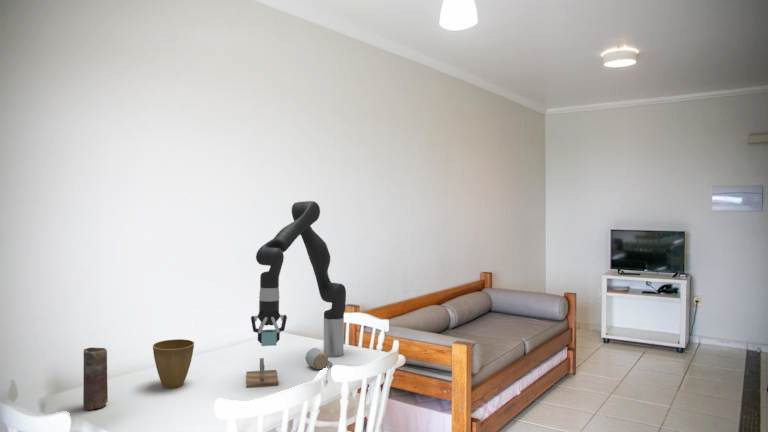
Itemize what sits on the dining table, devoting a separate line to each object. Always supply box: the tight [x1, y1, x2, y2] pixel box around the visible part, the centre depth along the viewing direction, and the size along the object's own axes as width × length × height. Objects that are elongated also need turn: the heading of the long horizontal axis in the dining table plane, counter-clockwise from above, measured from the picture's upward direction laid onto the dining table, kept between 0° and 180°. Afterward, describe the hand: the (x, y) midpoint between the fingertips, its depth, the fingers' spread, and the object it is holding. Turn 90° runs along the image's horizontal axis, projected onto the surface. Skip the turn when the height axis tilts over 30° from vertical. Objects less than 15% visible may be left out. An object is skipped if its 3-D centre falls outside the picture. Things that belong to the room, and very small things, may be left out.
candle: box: [82, 347, 109, 411], centre depth 185 cm, size 8×7×20 cm
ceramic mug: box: [305, 347, 333, 371], centre depth 231 cm, size 11×8×8 cm
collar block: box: [260, 328, 278, 347], centre depth 209 cm, size 6×6×5 cm
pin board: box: [245, 357, 279, 389], centre depth 214 cm, size 16×12×7 cm
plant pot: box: [152, 338, 195, 389], centre depth 207 cm, size 15×15×16 cm
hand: (268, 342), depth 210 cm, fingers closed on collar block, 5 cm apart
